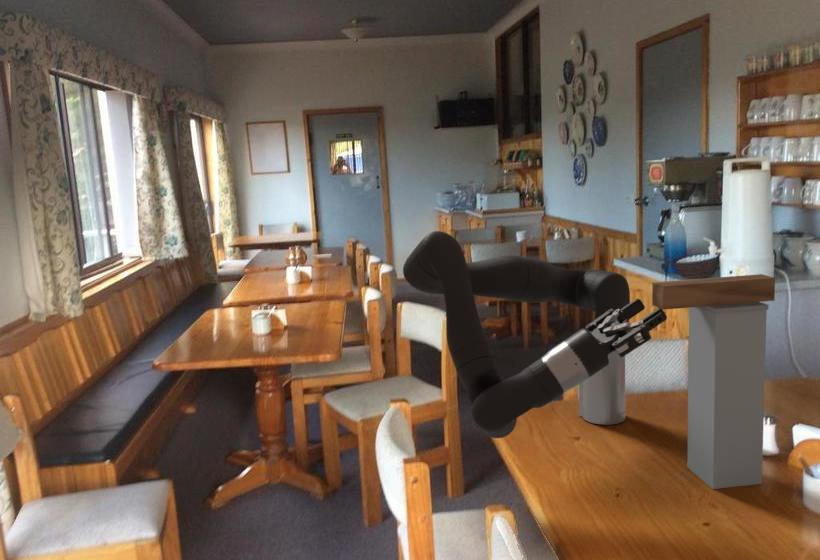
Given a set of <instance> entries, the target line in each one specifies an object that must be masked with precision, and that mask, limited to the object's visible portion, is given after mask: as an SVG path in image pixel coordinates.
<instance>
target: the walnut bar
mask: <svg viewBox="0 0 820 560" xmlns="http://www.w3.org/2000/svg"><path fill="white" fill-rule="evenodd" d="M651 285H652V286H651V287H652V290H651V292H652V294H651V295H652V296H651V297H652V298H651V299H652V300H651V301H652V304H651V305H652V306H654V307H656V308H657V309H658V308H660V309H662V310H663V311H664V310H674V309H685V308H686V309H689V307H702V306H714V305H727V304H739V303H752V302H761V303H764V302H774V301H775V291H776V289H775V288H776V277H775V276H769V275H766V274H763V273H762V274H761V273H759V274H758V273H757V274H748V275H747V274H746V275H734V276H720V277H718V276H717V277H709V278H707V277H706V278H705V277H704V278H695V279H694V278H693V279H680V280H669V281H668V280H666V281H654V282H652V283H651Z"/></svg>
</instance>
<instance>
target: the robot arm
mask: <svg viewBox="0 0 820 560" xmlns="http://www.w3.org/2000/svg"><path fill="white" fill-rule="evenodd" d="M402 273H403V277H404V279H405V281H406V282H407V284H408V285H410V286H411V287H412V288H414V289H416V290H418V291H420V292H422V293H426V294H431V295H443V297H444V304H445V322H446V323H445V325H446V326H445V327H446V328H445V330H446V341H447V342H446V343H447V347H448V351H449V354H450V357H451V360H452V362H453V365H454V368H455V371H456V374H457V376H458V378H459V380H460V382H461V383H462V385H463V387H464V389H465V390H466V392H467V395H468V398H469V401H470V404H471V419H472V420H473V422H474V423H475V425H476V426H477V428H479V429H480V431H481V432H482V433H483V434H484V435H486V436H488V437H490V438H494V439H502V438H505V437H507V436H509V435H510V434H511V433H512V432H513V431H514V429H515V427H516V426H517V422H518V421H517V420H518V418H520V417H521V416H522V415H524V414H526V413H527V412H530V410H532V409H534V408H535V409H540V408H543V407H545V406H547V405H548V404H549V403H551V402H553V401H554V400H556V399H557V398H558V397H560V396H561V395H563V394H565V393H566V392H568V391H570V390H572V389H574V388H576V387H577V386H578V416H579V417H582V418H583V420H585V421H586V422H588V423H592V424H597V425H603V426H604V425H608V426H610V425H618V424H620V423H622V422H625V420H626V356H627V355H628V354H629V353H631V352H633V351H634V350H636V349H637V348H640V347H641V346H642V345H644V344H645V343H647V342H649V341H650V340H651V339H652V336H651V331H652V330H654V329H655V328H656V327H658V326H659V325H661V324H662V323H664V322H665V321H666V320H667V319H668V317H667V315H666V314H667V313H665V311H664V310H663V309H660V308H658V307H657V308H656V309H654V311H653V310H652V312H651V313H649V314H647V315H646V316H645V317H643V318H641V320H639V321H635V322H630V320H631V319H632V318H633V317H635V316H637V315H638V314H640V313H641V312H642V311H644V310H645V308H646V307H645V305H644V303H643V301H642V300H641V299H640V298H635V299H634V300H632V301H631V292H630V290H631V289H630V286H629V283H628V281H627V279H626V277H624V276H623V275H622V274H621V273H617V272H614V271H613V272H612V271H608V270H607V271H606V270H602V269H579V268H578V269H577V268H563V267H559V266H556V265H553V264H551V263H549V262H546V261H544V260H541V259H536V258H533V257H532V258H531V257H527V256H521V255H513V254H512V255H510V254H509V255H501V256H496V257H495V256H494V257H489V258H486V259H485V258H484V259H482V260H477V261H473V262H472V261H470V262H467V260H466V257H465V253H464V250H463V249H462V246H461V244H460V243H459V242H458V240H456V238H455V237H453V236H452V235H451V234H449V233H447V232H445V231H441V230H435V231H431V232H429V233H428V234H427V235H425V236H424V237H423V238H422V239H421V240H420V241H419V243H418V244H417V245H416V247H415V248H414V249H413V250H412V251H411V253H410V254H409V255H408V257H407V259H406V260H405V262H404V264H403V267H402ZM475 296H476V297H486V298H494V299H495V298H496V299H502V300H507V301H513V302H519V303H520V302H521V303H528V304H533V303H534V304H537V303H538V304H540V303H546V302H559V303H563V304H567V305H571V306H574V307H577V308H581V309H583V310H586V311H590V312H593V313H594V320H593V321H592V322H590V323H588V324H587V325H586V326H585V328H584V327H583V328H581V329H579V330H577V331H576V332H575V333H573V334H571V335H569V337H567V338H566V339H564V340H562V341H561V342H560V343H558V344H557V345H555V346H554V347H552V348H551V349H550V350H549V351H547V352H546V353H545V354H544V355H543V356H542V357H540V358H538V359H537V360H536V361H534V362H533V363H531V364H530V365H528V366H527V367H525V368H524V369H522V370H521V372H519V373H516V374H515V375H512V376H510V377H508V378H506V379H504V380H503V379H502V377H501V376H500V373H499V369H498V366H497V362H496V360H495V358H494V355H493V352H492V350H491V348H490V344H489V342H488V340H487V337H486V335H485V333H484V330H483V326H482V324H481V321H480V320H481V319H480V317H479V313H478V310H477V305H476V300H475Z"/></svg>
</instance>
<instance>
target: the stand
mask: <svg viewBox="0 0 820 560" xmlns="http://www.w3.org/2000/svg"><path fill="white" fill-rule="evenodd" d="M767 311H769V304H767V303H764V302H752V303H739V304H727V305H714V306H702V307H689V308H688V355H687V356H688V362H687V365H688V366H687V367H688V370H687V371H688V373H687V380H688V381H687V382H688V383H687V384H688V385H687V386H688V387H687V461H686V462H687V463H686V465H687V469H689V471H691V472H692V473H693V474H694V475H695V476H697V477H698V478H699V479H700V480H702V482H704V483H706V484H707V486H709V487H710V489H713V490H718V489H726V488H728V489H729V488H735V487H746V486H747V487H748V486H754V485H762V484H763V455H764V454H763V453H764V451H763V448H764V419H765V418H764V417H765V416H764V412H765V387H766V386H765V385H766V384H765V383H766V382H765V381H766V378H765V377H766V375H765V374H766V349H767V348H766V346H767V345H766V343H767V341H766V340H767V314H768V313H767Z"/></svg>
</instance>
